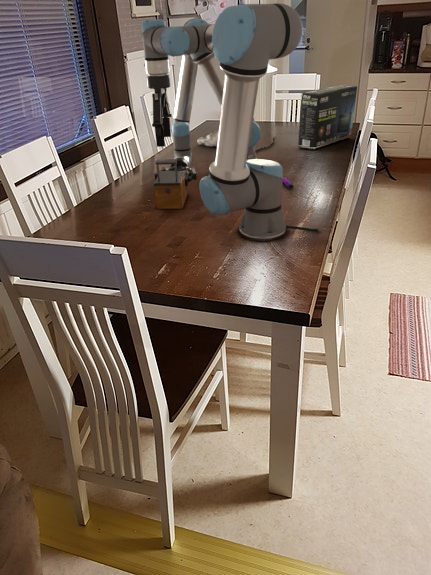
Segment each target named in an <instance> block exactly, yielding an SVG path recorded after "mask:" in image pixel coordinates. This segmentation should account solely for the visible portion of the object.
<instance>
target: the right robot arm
mask: <svg viewBox="0 0 431 575" xmlns="http://www.w3.org/2000/svg"><path fill="white" fill-rule="evenodd" d="M208 24H209V25H198V26H184V25H182V26H167V25H166V21H165V20H164V19H160V18H159V19H143V20H142V21H141V37H142V47H143V55H144V63H143V67H144V68H145V74H147V76H146V83H147V85H146V86H147V88H148V89H149V90H154V93H152V94H151V97H152V123H151V127H152V128H154V133H155V144H156V147H157V148H158V147H159V148H160V147H162V148H163V147H166V141H165V140H166V139H165V138H171V137H172V131H171V120H170V118H172V115H173V114H172V113H171V110H170V104H169V98H168V90H167V89H169V88H170V87H171V76H170V74H169V73H170V70H171V69H170V60H169V59H170V58H169V56H170V57H172V58H173V57H174V58H175V57H182V55H184V54H195V53H207V52H214V55H215V57H216V59H217V60H218V61H219V62H220V68H221V69H222V71H223V72H224V73H225V79H224V88H223V98H222V107H221V106H220V116H219V125H218V131H219V134H218V144H217V148H216V154H215V160H214V161H213V162H211V163H210V164H209V168H208V176H207V175H205V176H203V177H202V178H201V179H200V180H199V185H198V186H199V187H198V188H199V193H200V198H201V200H202V203H203V205H204V206H205V208H206V209H207V211H208V212H210V213H211V214H212V215H214V216H221V215H222V216H223V215H228V214H230V213H233V212H236V211H240V210H243V209H244V211H243V213H242V216H241V220H240V222H239V226H238V232H239V235H240V236H241V237H242V238H244V239H247V240H250V241H254V242H271V241H277V240H279V239H281V238H283V237H285V235H286V234H287V229H290V230H299V231H305V232H316V233H318V232H319V228H311V227H310V228H309V227H304V226H296V225H288V224H287V223H286V221H285V216H284V214H283V210H282V200H283V184H284V183H283V177H284V174H283V173H284V172H283V171H284V169H283V166H282V164H281V163H280V162H278V161H274V160H270V159H265V158H264V159H263V158H257V159H249V160H247V154H248V148H249V141H250V135H251V129H252V122H253V116H255V109H256V103H257V97H258V90H259V84H260V79H261V78H262V77H264V76H266V75H267V73H268V68H269V67H268V66H269V61H270V60H275V59H281V58H284V57H287V56H289V55H290V54H292V53H293V52H294V51H295V50H296V49H297V48H298V46H299V45H300V43H301V40H302V36H303V29H304V28H303V27H304V26H303V22H302V19H301V16H300V14H299V13H298V11H297V10H295V8H294V7H292V6H290V5H288V4H285V3H278V2H277V3H240V4H237V5H230V6H227V7H225V8H224V9H223V10H222V12H220V13H219V14H218V15H217V18H216V20H215V22H214V23H208Z"/></svg>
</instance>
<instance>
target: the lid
mask: <svg viewBox="0 0 431 575" xmlns="http://www.w3.org/2000/svg"><path fill="white" fill-rule="evenodd" d="M154 163H155V168H156V172H157V179H156V180H155V179H154V182H153V186H154V187H155V186H179V185H181V182H182V180H183V177H184V175H185V171H177V165H176V164H177V159H174V158H156V159H155V160H154ZM171 164H174V167H175V171H160V173H159V170H160V166H161V165H162V166H163V165H171Z"/></svg>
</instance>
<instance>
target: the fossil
mask: <svg viewBox="0 0 431 575" xmlns="http://www.w3.org/2000/svg"><path fill="white" fill-rule="evenodd" d="M218 134H219V130H215V129H212V130H211V132H210V133H209V134H207V135H206V136H205V137H204V136H201V137H199V138H197V140H196V141H197V144H198V145H199V146H206V147H215V148H216V149H217V144H218Z"/></svg>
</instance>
